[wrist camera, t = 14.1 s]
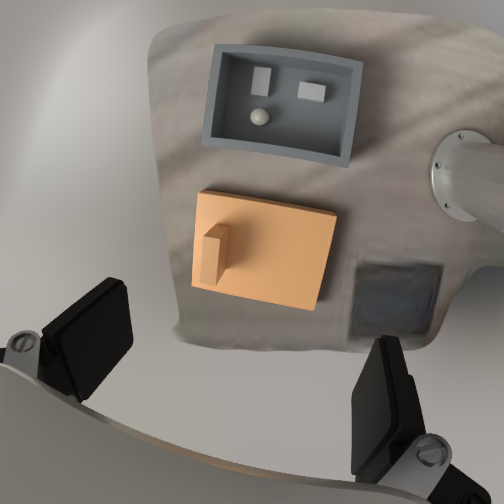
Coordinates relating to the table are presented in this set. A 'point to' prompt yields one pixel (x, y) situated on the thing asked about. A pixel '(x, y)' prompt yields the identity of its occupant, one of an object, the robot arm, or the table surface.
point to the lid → (261, 248)
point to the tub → (282, 102)
